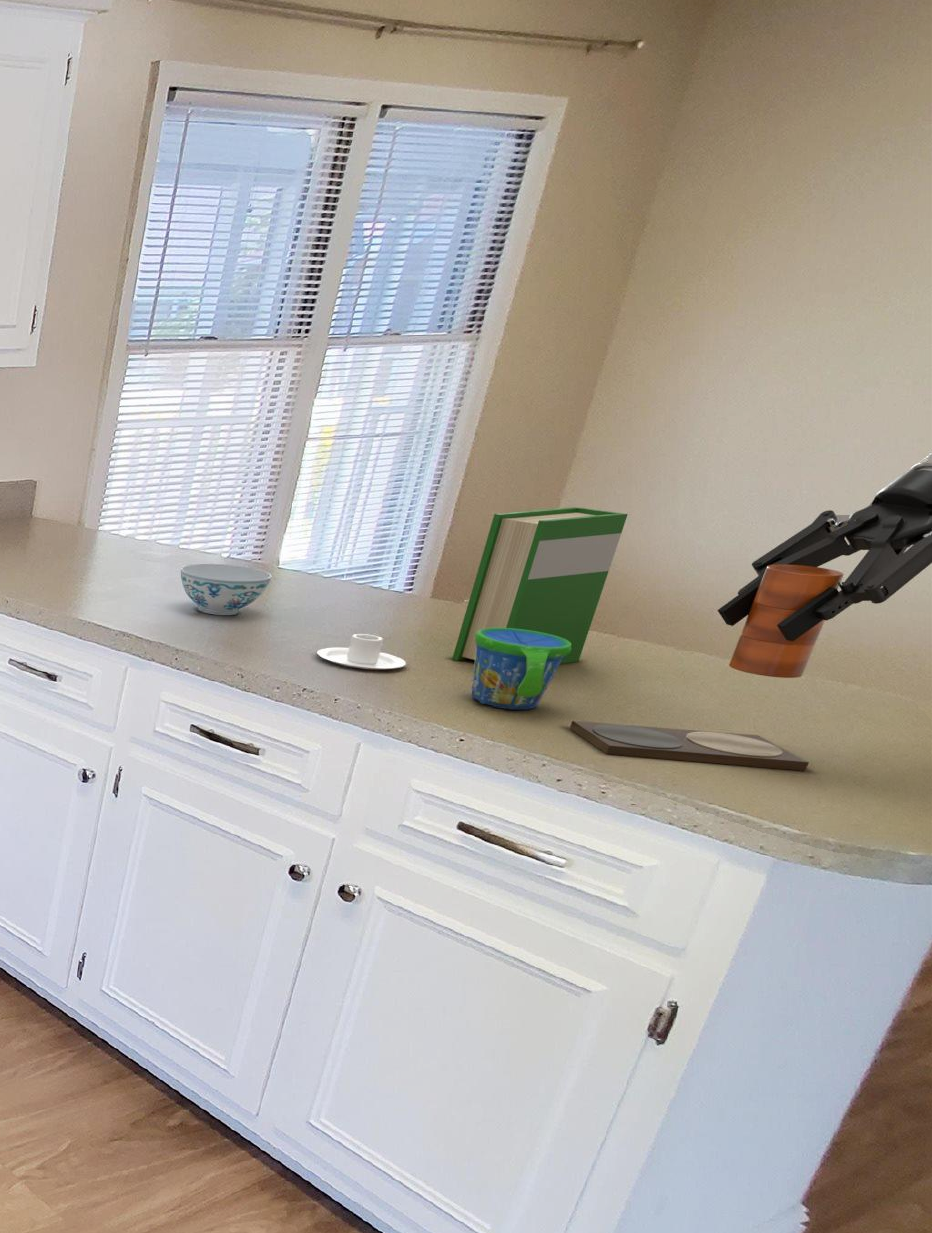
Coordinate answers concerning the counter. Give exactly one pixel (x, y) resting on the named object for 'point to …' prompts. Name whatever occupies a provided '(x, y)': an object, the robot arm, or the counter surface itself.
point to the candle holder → (362, 654)
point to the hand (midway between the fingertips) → (754, 625)
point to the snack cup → (515, 666)
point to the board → (687, 745)
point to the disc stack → (772, 604)
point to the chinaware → (223, 586)
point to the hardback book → (542, 575)
